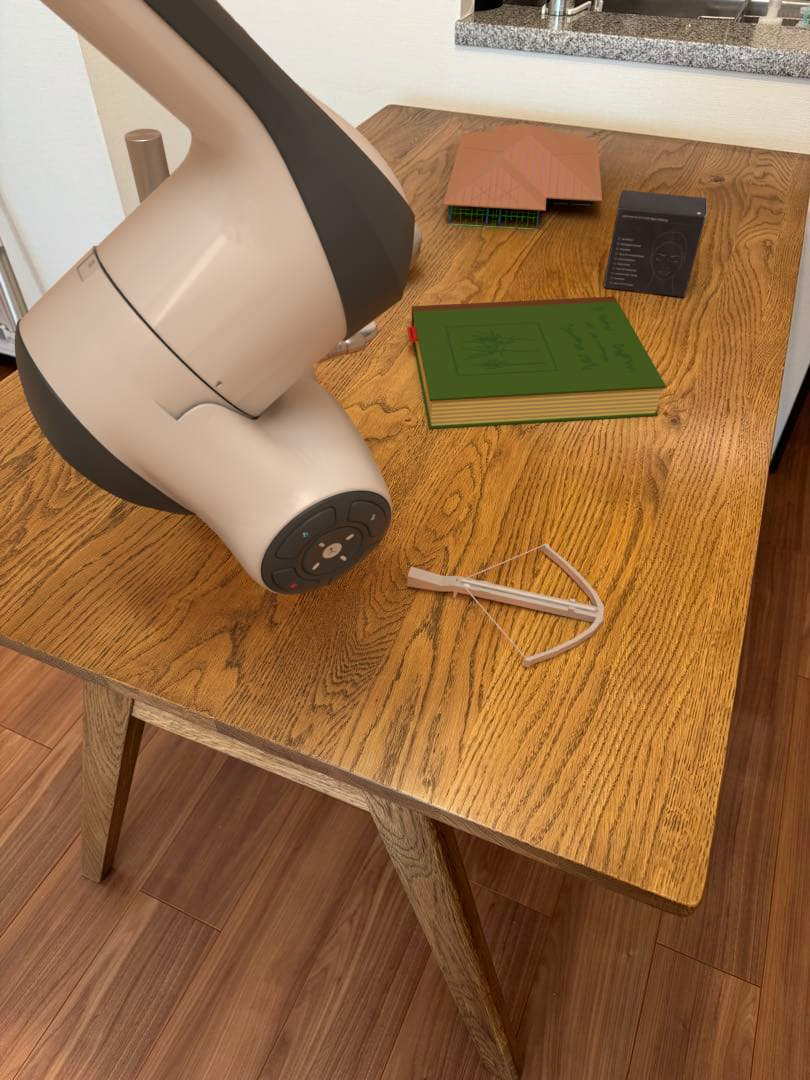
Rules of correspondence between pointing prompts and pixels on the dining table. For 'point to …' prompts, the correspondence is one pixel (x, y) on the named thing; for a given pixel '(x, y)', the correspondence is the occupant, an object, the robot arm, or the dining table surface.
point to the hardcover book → (531, 363)
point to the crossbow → (522, 599)
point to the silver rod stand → (147, 160)
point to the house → (522, 170)
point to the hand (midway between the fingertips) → (173, 282)
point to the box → (655, 242)
